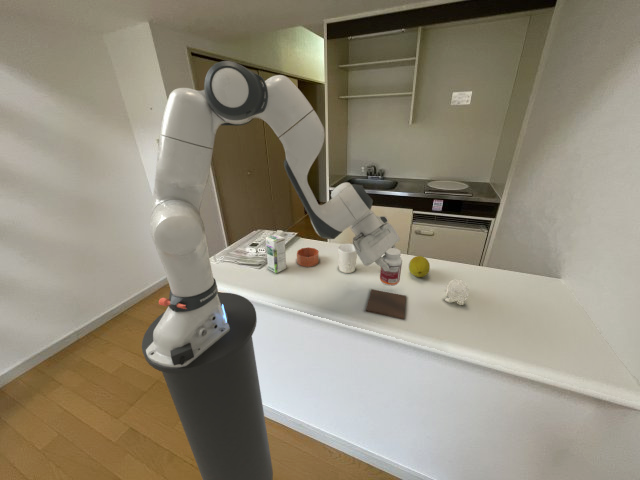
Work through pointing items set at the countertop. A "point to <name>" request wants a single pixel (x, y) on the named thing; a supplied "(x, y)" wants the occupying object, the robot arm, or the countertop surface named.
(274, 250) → the syrup box
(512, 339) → the countertop surface
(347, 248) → the white cup
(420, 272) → the lemon
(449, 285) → the white lumpy piece
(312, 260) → the orange round bowl
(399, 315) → the walnut board
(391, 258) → the pill bottle
